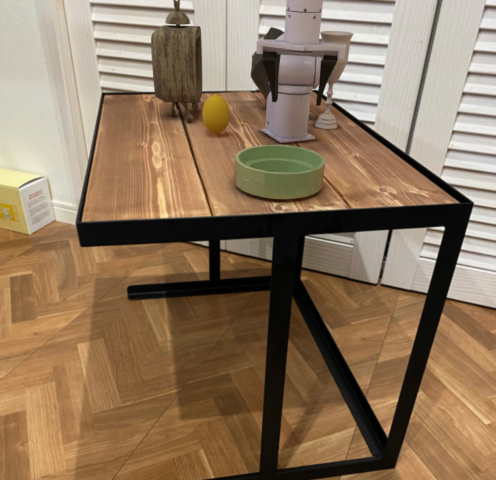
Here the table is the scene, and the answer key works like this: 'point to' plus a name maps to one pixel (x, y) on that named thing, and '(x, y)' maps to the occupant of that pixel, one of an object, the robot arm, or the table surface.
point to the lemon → (215, 114)
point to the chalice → (333, 75)
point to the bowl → (279, 171)
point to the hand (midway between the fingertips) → (296, 102)
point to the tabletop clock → (177, 62)
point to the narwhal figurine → (259, 71)
